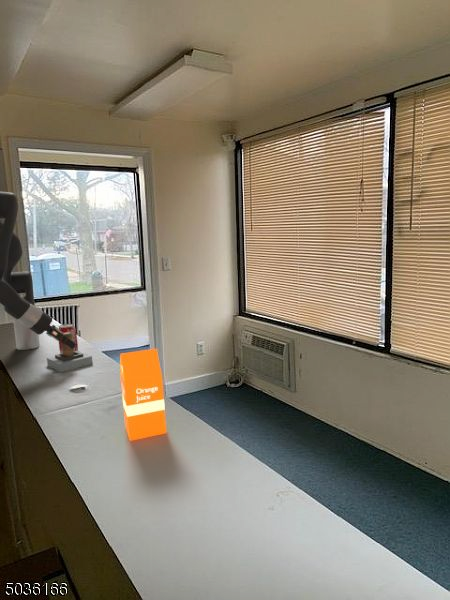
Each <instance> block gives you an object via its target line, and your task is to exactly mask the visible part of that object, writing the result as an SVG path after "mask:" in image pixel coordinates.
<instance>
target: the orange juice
mask: <svg viewBox="0 0 450 600" xmlns="http://www.w3.org/2000/svg"><path fill="white" fill-rule="evenodd" d="M119 355H120V362H119V364H120V367H119V368H120V372H119V373H120V384H121V394H122V395H121V397H122V406H123V415H124V416H123V417H124V425H125V427H124V428H125V430H126V433H127V434H126V435H127V436H128V439H129V441H130V442H131V441H136V440H141V439H144V438H145V439H146V438H150V437H154V436H159V435H164V434H167V423H166V422H167V421H166V409H165V407H166V406H165V398H164V396H165V395H164V385H163V383H164V382H163V374H162V370H161V365H160V359H159V354H158V348H151V349H150V348H149V349H144V350H138V351H130V352H122V353H120V354H119Z"/></svg>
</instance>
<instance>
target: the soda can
mask: <svg viewBox="0 0 450 600" xmlns="http://www.w3.org/2000/svg"><path fill="white" fill-rule="evenodd" d="M58 329H59V330H60V331H61V332H63V333H66V332H71V333H72V338H73V342H74V343H76V346H75V347H74V351H79V345H78V335H77V329H76V327H75V324H73V323H65V324H61V325H58ZM58 348H59V352H60V353H59V354H61V353H63V352H62V343H61V341H58Z"/></svg>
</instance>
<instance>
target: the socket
mask: <svg viewBox="0 0 450 600" xmlns="http://www.w3.org/2000/svg"><path fill="white" fill-rule="evenodd" d="M46 362H47V363H46V364H47V367H49V368H52V369H54V370H56V371H58V372H59V373H65V372H68V371H72V370H75V369H79V368H83V367H86V366H90V365H93V356H92V355H89V354H87V353H84V352H82V351H80V350H78V351H74V355H73V356H69V357H63V353H61V354H60V353H58V354H55V355H54V356H49V357H46Z"/></svg>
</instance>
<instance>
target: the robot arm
mask: <svg viewBox="0 0 450 600" xmlns="http://www.w3.org/2000/svg"><path fill="white" fill-rule="evenodd" d="M18 210H19V201H18V197H17V195H16V194H15V193H13V192H7V191H0V304H1V305H2V307H3V309H4V310H3V311H4V312H5V313H7V314H8V315H9V316H11V317H12V320H13V321H12V323H13V329H14V337H15V344H16V350H18V351H26V350H27V351H28V350H32V349H36V348H38V347H39V348H40V347H41V346H40V345H41V344H40V337H39V336H40V335H43V334H44V332H46V333H45V334H46V335H47V336H49V337H50V338H53V339H54V340H55V341H57V342H59V341H61V342H62V343H64V344H66V345H67V346H69V347H70V348H72V349H73V348H74V347H75V346H76V343H74V342H73V341H71V340H70V339H68V337H66V336H65V335H64V333H63V332H61V331H60V330H59V327H57V326H56V325H54V324H52V322H53V317H51V316H50V315H49V314H48V313H46V312H45V311H43V310H42V309H41V308H39V307H37V306H36V305H35V296H34V286H33V285H34V283H33V276H32V273H31V272H30V271H27V270H25V271H15V272H14V271H13V269H14V268H15V267H16V265H17V264H18V263H19V261H20V260H21V258H22V256H23V249H22V248H23V247H22V245H21V244H22V243H21V240H20V238H19V236H18V235H17V234H16V233H15V232H14V229H15V225H16V223H17V222H16V221H17V217H18V213H19V212H18ZM1 219H4V221H2V220H1ZM19 294H25V295H24V296H23V297H21V296H20V295H19ZM51 324H52V325H51ZM62 336H64V337H65V338H64V339H63V340H61V338H62Z"/></svg>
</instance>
